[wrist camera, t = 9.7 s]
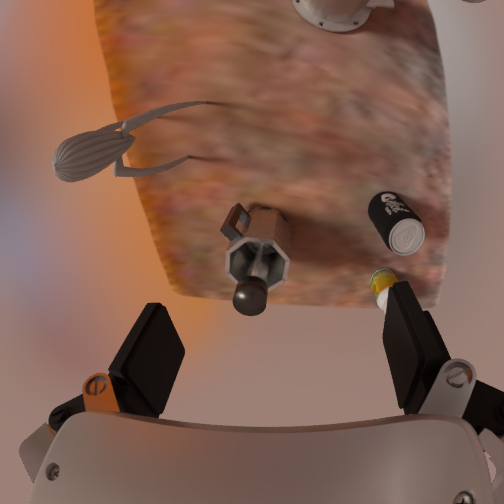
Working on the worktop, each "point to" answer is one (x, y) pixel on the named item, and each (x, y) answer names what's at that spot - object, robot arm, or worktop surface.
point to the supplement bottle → (382, 286)
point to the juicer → (107, 149)
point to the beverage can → (396, 223)
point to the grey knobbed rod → (253, 284)
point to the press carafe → (263, 231)
